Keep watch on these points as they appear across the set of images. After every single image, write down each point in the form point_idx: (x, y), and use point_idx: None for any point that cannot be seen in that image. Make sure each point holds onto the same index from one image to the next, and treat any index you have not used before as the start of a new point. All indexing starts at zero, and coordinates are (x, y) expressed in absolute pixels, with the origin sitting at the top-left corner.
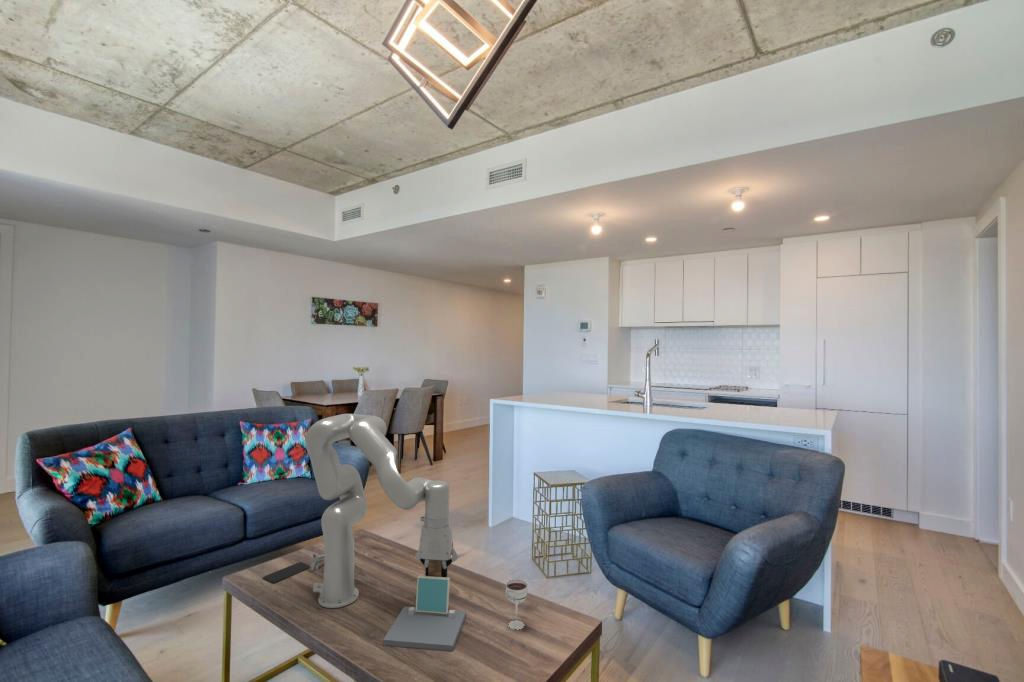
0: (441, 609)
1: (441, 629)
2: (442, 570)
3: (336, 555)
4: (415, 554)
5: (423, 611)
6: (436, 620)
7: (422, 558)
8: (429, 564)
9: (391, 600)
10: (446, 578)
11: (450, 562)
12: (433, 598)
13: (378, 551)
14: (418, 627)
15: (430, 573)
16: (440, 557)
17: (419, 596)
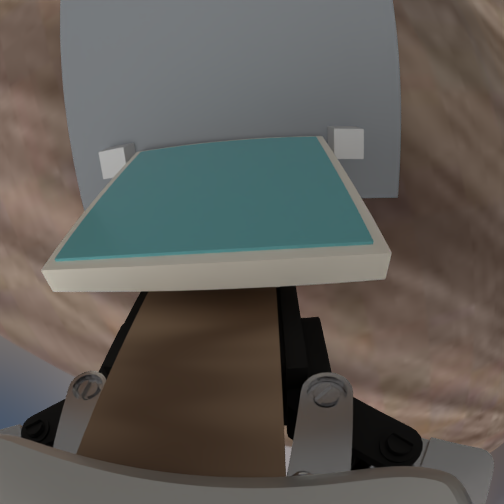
0: (162, 152)
1: (133, 46)
2: (114, 356)
3: None
4: (491, 476)
5: (274, 138)
6: (183, 104)
7: (406, 474)
8: (266, 409)
9: (450, 259)
10: (60, 269)
11: (28, 421)
12: (206, 169)
13: (471, 432)
14: (256, 28)
15: (252, 321)
16: (34, 487)
17: (317, 163)
